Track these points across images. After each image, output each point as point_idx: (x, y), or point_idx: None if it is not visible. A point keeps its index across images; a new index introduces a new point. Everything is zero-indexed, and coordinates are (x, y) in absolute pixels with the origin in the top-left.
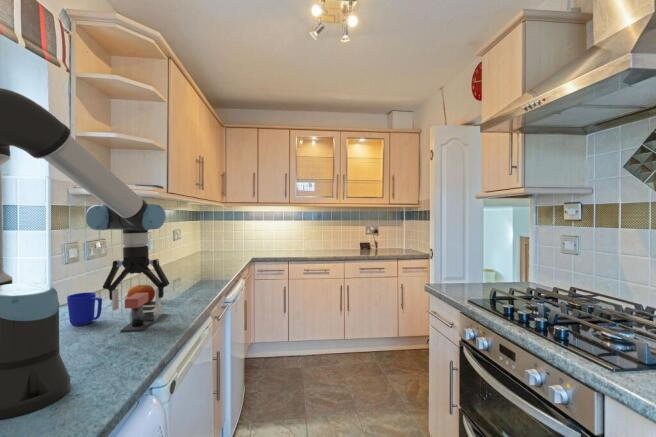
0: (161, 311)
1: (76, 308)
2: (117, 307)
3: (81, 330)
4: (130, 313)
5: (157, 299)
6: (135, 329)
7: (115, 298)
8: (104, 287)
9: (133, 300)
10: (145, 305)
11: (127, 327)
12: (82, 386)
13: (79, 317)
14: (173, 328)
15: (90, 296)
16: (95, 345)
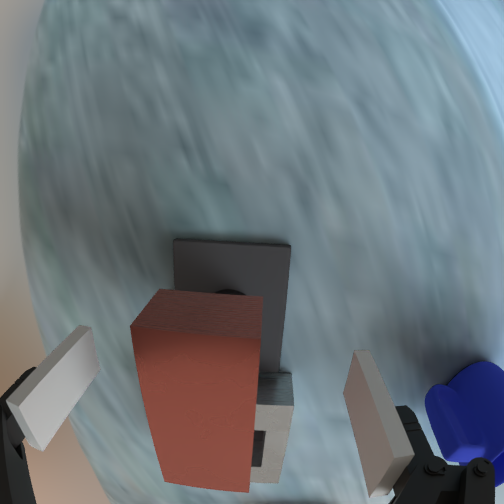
0: None
1: None
2: (348, 386)
3: (462, 308)
4: (289, 404)
5: (51, 356)
6: (212, 243)
7: (371, 415)
8: (481, 465)
9: (175, 323)
10: (259, 481)
11: (269, 288)
12: None
13: (488, 376)
14: (61, 246)
15: (491, 457)
16: (335, 69)
